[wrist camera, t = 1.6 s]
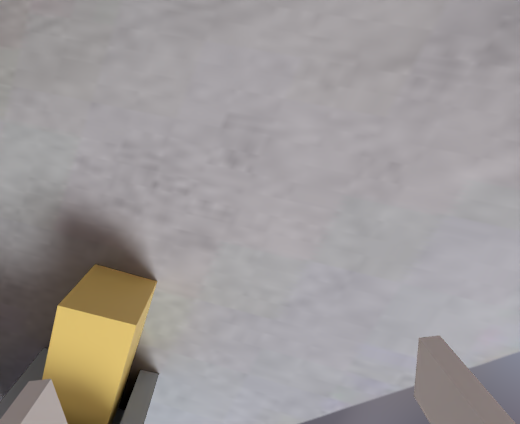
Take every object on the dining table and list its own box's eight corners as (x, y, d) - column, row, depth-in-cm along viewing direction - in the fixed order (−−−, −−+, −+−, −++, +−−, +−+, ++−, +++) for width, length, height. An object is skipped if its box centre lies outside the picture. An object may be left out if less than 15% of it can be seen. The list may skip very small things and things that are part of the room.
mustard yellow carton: (66, 388, 36) (26, 453, 29) (96, 263, 32) (57, 305, 25) (121, 400, 37) (95, 465, 30) (157, 280, 32) (136, 325, 26)
